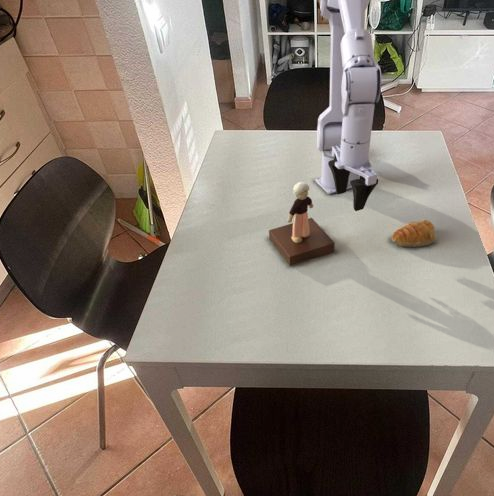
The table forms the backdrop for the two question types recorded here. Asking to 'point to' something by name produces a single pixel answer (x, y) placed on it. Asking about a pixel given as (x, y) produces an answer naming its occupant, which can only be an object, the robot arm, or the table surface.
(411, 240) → the pastry
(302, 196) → the grandmother figurine
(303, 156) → the table surface
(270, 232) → the walnut block
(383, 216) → the table surface
